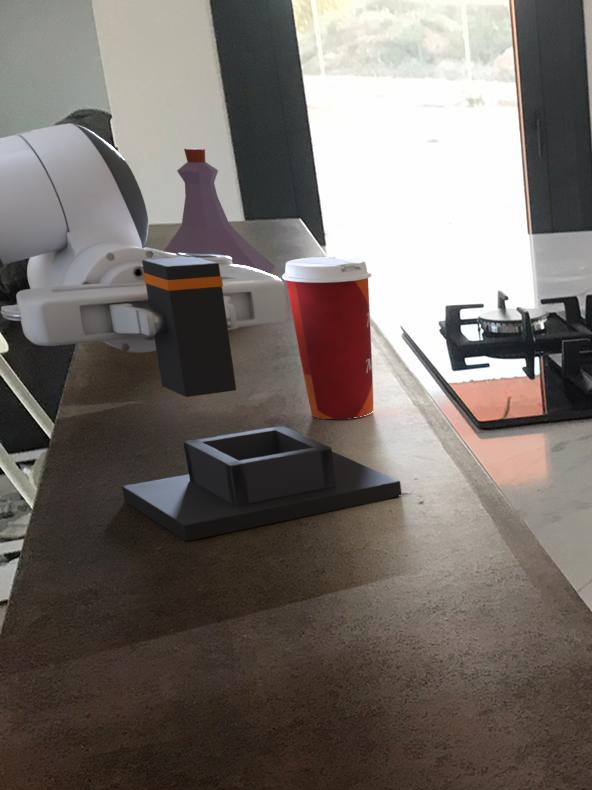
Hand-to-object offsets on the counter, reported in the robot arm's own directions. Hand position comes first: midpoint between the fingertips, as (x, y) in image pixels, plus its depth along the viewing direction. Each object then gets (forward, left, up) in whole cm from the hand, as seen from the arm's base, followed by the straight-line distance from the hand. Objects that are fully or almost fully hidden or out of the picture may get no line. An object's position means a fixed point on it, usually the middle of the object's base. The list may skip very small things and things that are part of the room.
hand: (193, 320), depth 101 cm
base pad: (+7, -10, -12) cm, 17 cm away
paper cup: (+7, +17, -12) cm, 22 cm away
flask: (-24, +84, -12) cm, 88 cm away
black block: (-1, +1, -6) cm, 6 cm away
